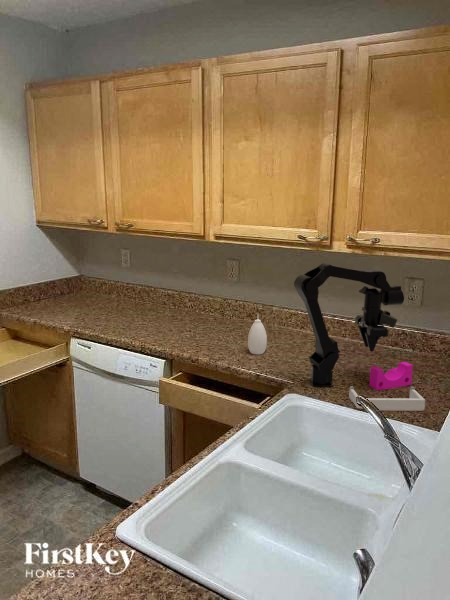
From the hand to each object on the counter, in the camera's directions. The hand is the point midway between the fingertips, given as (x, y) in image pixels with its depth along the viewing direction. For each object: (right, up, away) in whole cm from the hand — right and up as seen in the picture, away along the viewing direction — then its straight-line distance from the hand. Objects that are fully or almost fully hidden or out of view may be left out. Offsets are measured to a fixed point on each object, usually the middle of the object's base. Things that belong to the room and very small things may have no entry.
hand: (369, 348), depth 165 cm
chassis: (0, -16, -16) cm, 22 cm away
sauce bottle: (-38, -6, +29) cm, 48 cm away
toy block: (+6, -13, 0) cm, 14 cm away
